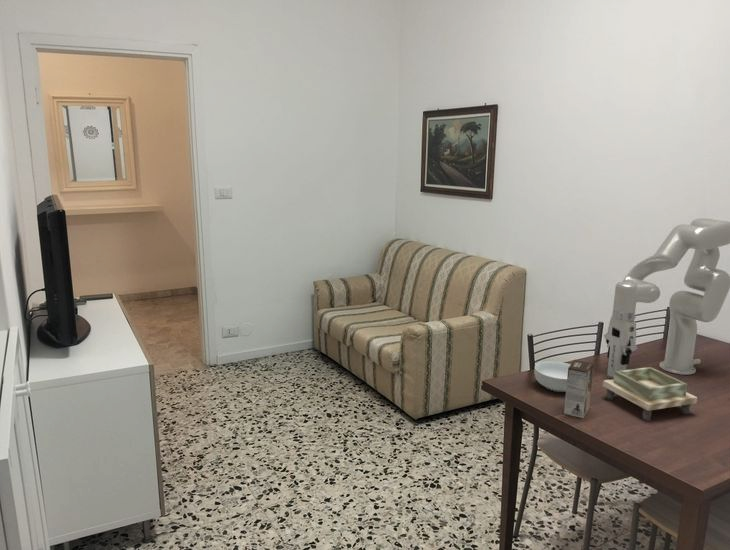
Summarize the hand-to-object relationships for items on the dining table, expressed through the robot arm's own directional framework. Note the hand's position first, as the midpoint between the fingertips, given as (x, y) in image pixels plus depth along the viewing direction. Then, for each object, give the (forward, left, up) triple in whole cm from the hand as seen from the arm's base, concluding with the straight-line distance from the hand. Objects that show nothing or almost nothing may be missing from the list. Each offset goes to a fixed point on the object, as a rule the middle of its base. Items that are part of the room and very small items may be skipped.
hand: (617, 360), depth 210 cm
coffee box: (+34, +20, -7) cm, 40 cm away
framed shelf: (+8, +23, -7) cm, 25 cm away
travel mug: (0, 0, -7) cm, 7 cm away
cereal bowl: (+28, +2, -7) cm, 29 cm away
